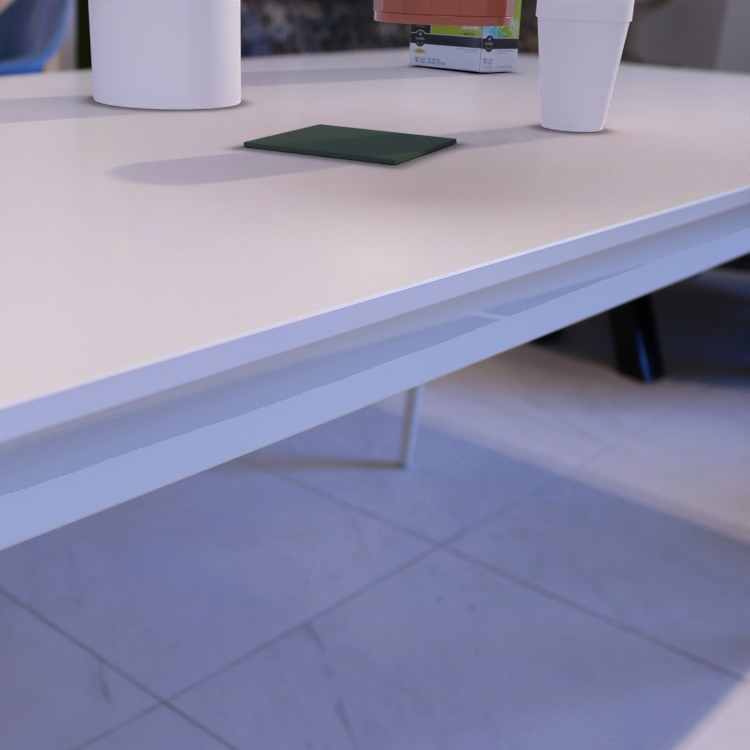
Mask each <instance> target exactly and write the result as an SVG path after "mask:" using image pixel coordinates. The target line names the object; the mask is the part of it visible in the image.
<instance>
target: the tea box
mask: <svg viewBox="0 0 750 750" xmlns="http://www.w3.org/2000/svg"><path fill="white" fill-rule="evenodd" d="M522 1H523V0H515V10H514V16H513V23H512V25H511V26H503V27H470V26H439V25H419V24H410V36H409V56H408V57H409V59H408V64H409V65H411V66H419V67H429V68H437V69H447V70H448V69H449V70H458V71H466V72H467V71H468V72H478V73H500V72H502V73H503V72H515V71H516V69H517V61H518V51H519V40H520V39H519V38H520V27H521V14H522V13H521V12H522Z"/></svg>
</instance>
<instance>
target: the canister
mask: <svg viewBox="0 0 750 750" xmlns="http://www.w3.org/2000/svg"><path fill="white" fill-rule="evenodd" d="M87 1H88V3H87V5H88V23H89V40H90V57H91V58H90V59H91V60H90V61H91V77H92V78H91V79H92V95H93V100H94V102H96V103H98V104H103V105H108V106H113V107H122V108H130V109H131V108H132V109H146V110H171V111H173V110H177V111H179V110H181V111H182V110H185V111H186V110H190V111H191V110H212V109H221V108H229V107H233V106H237V105H240V103H242V68H241V67H242V65H241V64H242V59H241V57H242V55H241V54H242V52H241V51H242V49H241V48H242V47H241V45H242V43H241V39H242V38H241V36H242V35H241V33H242V32H241V27H242V26H241V25H242V23H241V21H242V20H241V0H87Z"/></svg>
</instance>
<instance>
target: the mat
mask: <svg viewBox="0 0 750 750" xmlns="http://www.w3.org/2000/svg"><path fill="white" fill-rule="evenodd" d="M457 140H458V138H453V137H446V136H445V137H444V136H434V135H425V134H416V133H407V132H397V131H387V130H377V129H370V128H369V129H368V128H361V127H360V128H359V127H350V126H342V125H332V124H322V123H318V124H315V125H311V126H307V127H302V128H297V129H293V130H290V131H284V132H281V133H276V134H272V135H267V136H264V137H260V138H259V137H258V138H254V139H251V140H246V141H243V148H244V147H245V148H249V149H250V148H252V149H260V150H267V151H276V152H284V153H285V152H286V153H293V154H301V155H302V154H303V155H311V156H318V157H326V158H327V157H328V158H335V159H343V160H351V161H360V162H361V161H362V162H369V163H378V164H386V165H393V166H396V165H399V164H400V163H404V162H406V161H410V160H413V159H415V158H418V157H420V156H424V155H426V154H430V153H432V152H435V151H438V150H441V149H444V148H447V147H450V146H452V145H455V144H457Z"/></svg>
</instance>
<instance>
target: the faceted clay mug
mask: <svg viewBox="0 0 750 750" xmlns="http://www.w3.org/2000/svg"><path fill="white" fill-rule="evenodd" d="M372 9H373V20H374V21H376V22H383V23H391V24H406V25H411V24H419V25H439V26H470V27H503V26H511V25H512V23H513V16H514V10H515V0H373V8H372Z"/></svg>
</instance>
